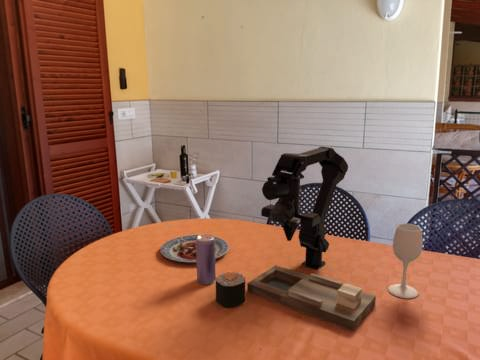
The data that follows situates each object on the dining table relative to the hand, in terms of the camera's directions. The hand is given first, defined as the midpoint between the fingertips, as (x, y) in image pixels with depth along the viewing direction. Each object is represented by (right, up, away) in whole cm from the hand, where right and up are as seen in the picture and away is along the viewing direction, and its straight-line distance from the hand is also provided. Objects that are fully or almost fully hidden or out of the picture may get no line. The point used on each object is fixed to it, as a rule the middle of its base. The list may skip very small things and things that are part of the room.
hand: (289, 240), depth 134 cm
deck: (+5, -16, -10) cm, 19 cm away
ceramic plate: (-33, -8, +24) cm, 41 cm away
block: (+14, -15, -18) cm, 27 cm away
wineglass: (+34, -15, -6) cm, 38 cm away
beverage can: (-27, -13, +1) cm, 30 cm away
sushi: (-19, -16, -11) cm, 27 cm away
